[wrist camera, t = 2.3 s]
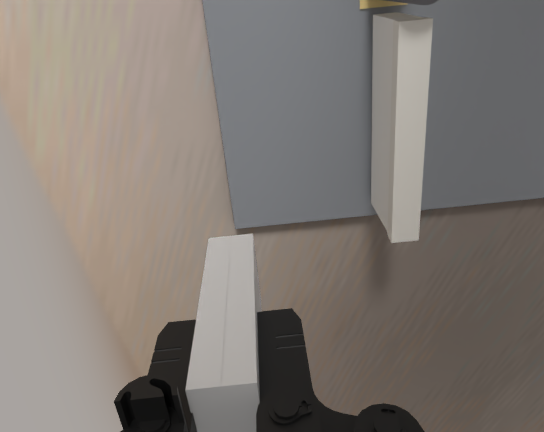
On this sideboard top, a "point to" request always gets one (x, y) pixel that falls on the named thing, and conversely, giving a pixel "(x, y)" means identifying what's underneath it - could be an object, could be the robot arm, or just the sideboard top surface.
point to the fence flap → (399, 120)
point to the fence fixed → (415, 1)
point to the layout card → (358, 104)
